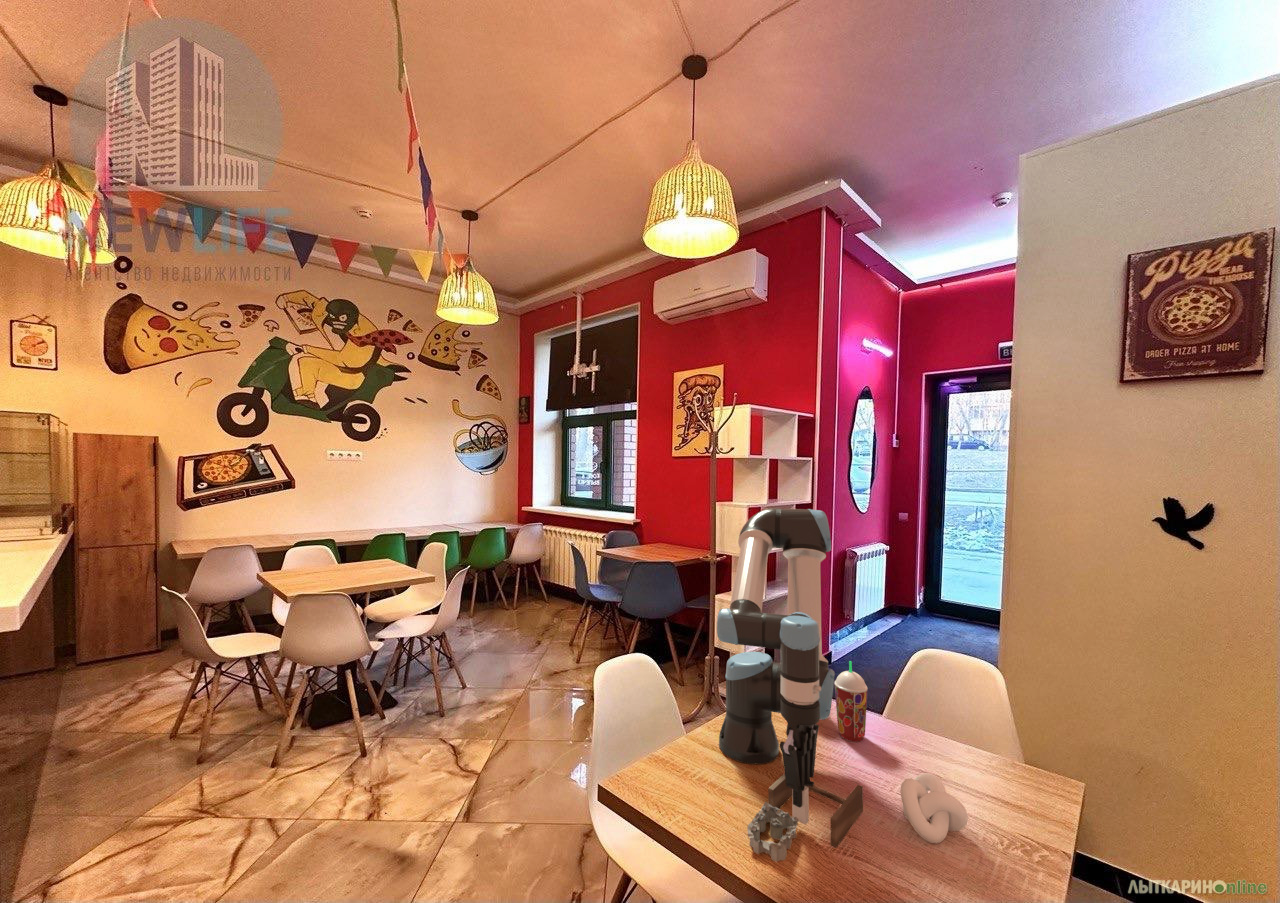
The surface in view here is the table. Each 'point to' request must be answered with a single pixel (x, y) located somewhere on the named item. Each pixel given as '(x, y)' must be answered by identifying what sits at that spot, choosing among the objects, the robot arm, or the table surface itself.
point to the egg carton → (772, 831)
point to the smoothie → (851, 705)
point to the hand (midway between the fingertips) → (800, 819)
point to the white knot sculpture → (931, 807)
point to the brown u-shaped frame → (844, 813)
